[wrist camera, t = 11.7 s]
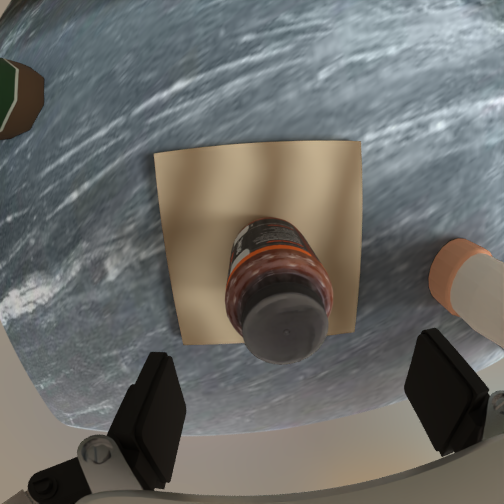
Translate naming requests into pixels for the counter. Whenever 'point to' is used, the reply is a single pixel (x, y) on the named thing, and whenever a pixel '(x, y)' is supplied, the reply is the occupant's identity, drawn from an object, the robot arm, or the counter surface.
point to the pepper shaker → (470, 287)
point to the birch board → (250, 209)
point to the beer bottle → (19, 98)
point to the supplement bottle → (277, 292)
